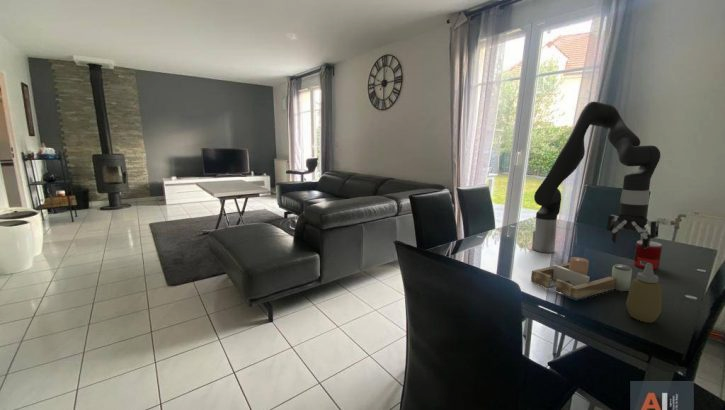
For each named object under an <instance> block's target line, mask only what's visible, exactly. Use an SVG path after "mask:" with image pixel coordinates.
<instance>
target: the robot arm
mask: <svg viewBox="0 0 725 410" xmlns="http://www.w3.org/2000/svg"><path fill="white" fill-rule="evenodd" d="M590 126H595V127H602V128H603V129H605V130H607V131H608V132H607V139H608V141H609V143H610V144H611V145H612V146H613V147H614V149H615V150H616V152H617V155H618V159H619V162H620V163H621V164H622V165H624V166H626V167H638V169H636V170H635V171H634V172H629V173H625V175H624V177H623V184H622V191H621V197H620V199H619V200H620V202H619V203H620V204H619V215H615V214H611V215H608V218H607V223H606V224H607V225H606V231H610V232H611V234H612V237H611V241H612V242H613V243H614V244H617V243H619V242H620V241H619V240H620V233H619V232H620V231H622V230H623V229H624V230H630V231H637V232H638V233H639V234H640V235H641V236H642V237H643V238H642V240H643V241H642V249H646V248H647V247H649V246H650V241H651V239H655V238H658V237H659V225H660V222H659V220H648V211H649V204H650V186H651V179H652V177H653V174H654V172H655V170H656V168H657V166H658V164H659V162H660V160H661V151H660V149H659V148H658V146H656V145H652V144H651V145H649V144H648V145H641V139H640V138H639V137H638V136H637V135H636V134H635V133H634V132H633V131H632V129H630V128H629V127H628V126H627V125H626V123H625V122H624V119H622V116H621V114H620V113H619V112H618V110H617V108H616V107H615V106H614V105H611V104H609V103H603V102H599V101H590V102H588V103H587V104H586V105H585V106H584V108H583V109H582V110H581V112H580V114H579V116H578V118H577V121H576V122H575V125H574V127H573V129H572V131H571V133H570V135H569V137H568V139H567V140H566V143H565V144H564V146H563V147H562V149H561V150H560V153H559V154H558V156H557V158H556V160H555V161H554V163H553V165H552V166H551V168H550V170H549V171H548V173H547V175H546V177H544V180H543V181H542V182H541V184H540V185H539V186H538V188H537V190H535V192H534V196H533V199H534V202H535V204H536V205H538V206H541V207H540V208H539V209H538V210H537V211H536V214H535V225H534V226H535V227H534V228H535V229H534V230H533V231H532V245H531V249H532V250H534V251H536V252H540V253H545V254H546V253H547V254H551V253H554V252H555V248H556V235H557V223H558V215H559V214H560V212H561V211H560V210H561V205H562V193H561V192H562V191H560V189H559V187H560V186H561V184H562V183H563V182H564V181H565V180H566V179H568V177H570V176H571V175H572V173H574V172H575V171H576V169H577V168H578V167H579V165H580V164H581V162H582V161H583V159H584V156H585V150H586V149H585V136H586V133H587V131H588V129H589V128H590ZM616 221H618V225H617V226H616V227H615V223H616ZM647 225H648V226H649V227H650V232H649V230H648V229H647V227H646V226H647Z"/></svg>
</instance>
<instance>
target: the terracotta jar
mask: <svg viewBox="0 0 725 410" xmlns="http://www.w3.org/2000/svg"><path fill="white" fill-rule="evenodd" d="M589 262H590V261H589V259H587V258H584V257H578V256H572V257H569V270H572V271H575V272H577V273H580V274H583V275H586V276H588V273H589V264H590V263H589Z"/></svg>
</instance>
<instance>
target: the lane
mask: <svg viewBox="0 0 725 410" xmlns="http://www.w3.org/2000/svg"><path fill="white" fill-rule="evenodd" d="M569 262H570V261H569ZM569 262H564V263H559V264H557V265H558V266H561V267H564V268H566V269H569ZM553 271H554V265H552V266H551V265H550V266H547V267H542V268H538V269H533V270H531V277H530V278H531V279H530V281H531V282H532V283H534V284H537V285H538V284H539V286H541V285H542V286H541V287H543V286H544V287H543V288H545V286H549V285H551V281H552V280H554V279H553ZM555 281H556V280H555ZM615 283H616V278H613V277H612V276H607V277H603V278H599V279H597V280H592V281H589V282H588V283H584V284H581V285H577V286H573V285H571V284H569V283H567V282H564V281H562V280H559V279H558V280H557V281H556V283H555V284H556V287H555V292H556V291H558V292H561V293H563V294H566V295H568V296H571V297H574V298H576V299H577V298H583V297H587V296H590V295H594V294H597V293H601V292H603V291H608V290H611V289H615Z"/></svg>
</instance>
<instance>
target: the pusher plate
mask: <svg viewBox="0 0 725 410" xmlns="http://www.w3.org/2000/svg"><path fill="white" fill-rule="evenodd" d="M558 265H559V264H554V265H553V266H554V271H553V279H552V280H554V281H557V280H558V279H559V280H562V281H564V282H567V283H569V284H571V285H573V286H577V285H581V284H584V283H588V282H590V280H591V279H590V277H591V276H588V275H587V276H586V275H583V274H580V273H577V272H575V271H572V270H569V269H566V268H564V267H561V266H558ZM544 288H545V289H546V290H548V289H549V288H550V289H551V288H556V283H554V284H550V285H549V286H545V287H544Z"/></svg>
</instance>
